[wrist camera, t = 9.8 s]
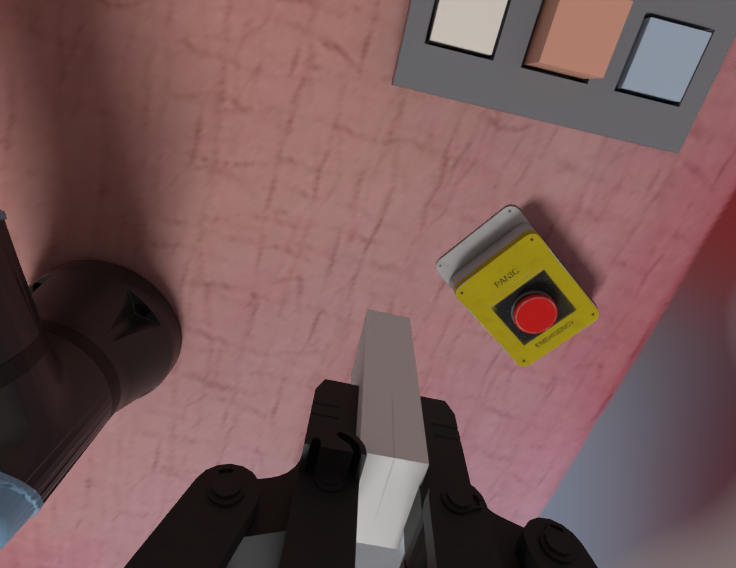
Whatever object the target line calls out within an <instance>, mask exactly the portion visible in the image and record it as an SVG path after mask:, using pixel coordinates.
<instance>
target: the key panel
mask: <svg viewBox="0 0 736 568" xmlns="http://www.w3.org/2000/svg"><path fill="white" fill-rule="evenodd" d="M631 1H633V4H632V6H631V9H630V11H629V14H628V17H627V19H626V22H625V24H624V27H623V29H622V32H621V34H620V37H619V39H618V42H617V45H616V47H615V50H614V52H613V55H612V57H611V60H610V62H609V65H608V67H607V70H606V72H605V75H604V78H594V79H580V78H576V77H572V76H568V75H564V74H560V73H556V72H552V71H548V70H544V69H540V68H536V67H532V66H528V65H524V64H523V63H524V60H525V57H526V54H527V51H528V48H529V45H530V42H531V39H532V36H533V33H534V30H535V26H536V23H537V20H538V17H539V14H540V11H541V8H542V5H543V2H544V0H508V1H507V5H506V8H505V11H504V15H503V18H502V22H501V25H500V28H499V32H498V35H497V38H496V42H495V45H494V48H493V52H492V55H489V56H485V57H482V58H481V57H477V56H473V55H469V54H465V53H461V52H457V51H453V50H449V49H445V48H441V47H437V46H433V45H429V44H425V43H426V39H427V35H428V31H429V26H430V22H431V18H432V14H433V10H434V6H435V2H436V0H410V3H409V8H408V12H407V17H406V21H405V26H404V30H403V35H402V39H401V44H400V48H399V53H398V57H397V62H396V66H395V71H394V76H393V80H392V85H395V86H399V87H403V88H407V89H411V90H416V91H420V92H424V93H428V94H432V95H436V96H440V97H445V98H449V99H453V100H457V101H461V102H465V103H469V104H473V105H478V106H482V107H486V108H490V109H494V110H498V111H502V112H507V113H511V114H515V115H519V116H523V117H527V118H531V119H536V120H540V121H544V122H548V123H552V124H556V125H560V126H564V127H569V128H573V129H577V130H581V131H585V132H589V133H593V134H598V135H602V136H606V137H610V138H614V139H618V140H622V141H626V142H631V143H635V144H639V145H643V146H647V147H652V148H656V149H660V150H665V151H669V152H673V153H679V151H680V149H681V147H682V145H683V143H684V141H685V139H686V137H687V135H688V133H689V131H690V128H691V126H692V124H693V122H694V120H695V118H696V116H697V114H698V112H699V110H700V108H701V106H702V104H703V102H704V100H705V98H706V95H707V93H708V91H709V89H710V87H711V85H712V83H713V81H714V79H715V77H716V75H717V73H718V71H719V69H720V67H721V65H722V62H723V60H724V58H725V56H726V54H727V52H728V50H729V48H730V46H731V44H732V42H733V40H734V38H735V36H736V0H631ZM650 17H652V18H656V19H660V20H664V21H668V22H672V23H675V24H679V25H683V26H687V27H691V28H694V29H698V30H702V31H706V32H710V33H712V35H711V37H710V39H709V41H708V43H707V45H706V47H705V50H704V52H703V54H702V56H701V58H700V60H699V62H698V65H697V67H696V69H695V71H694V73H693V75H692V77H691V80H690V82H689V84H688V86H687V88H686V90H685V93H684V95H683V97H682V99H681V101H680V102H673V101H655V100H649V99H645V98H641V97H637V96H633V95H629V94H625V93H621V92H617V91H614V90H615V87H616V85H617V82H618V80H619V77H620V75H621V73H622V70H623V68H624V65H625V63H626V60H627V58H628V55H629V53H630V50H631V48H632V46H633V43H634V41H635V38H636V36H637V33H638V31H639V28H640V26H641V23H642V21H643V19H646V18H650Z"/></svg>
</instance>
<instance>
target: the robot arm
mask: <svg viewBox="0 0 736 568" xmlns="http://www.w3.org/2000/svg"><path fill="white" fill-rule="evenodd" d="M6 219H7V217H6V214H5V212H4V211H2V210H0V549H2V548H3V547H4V546H5V545H6V544H7V543H8V542H9V540H10V539H11V538H12V537H13V536H14V535H15V534H16V533H17V531H18V530H19V529H20V528H21V527H22V526H23V525H24V524H25V523H26V521H27V520H28V519H29V518H31V517H33V516H34V515H35V514H36V513H38V512H39V511H40V509H41V507H42V506H43V504H44V503H45V501H46V500H47V499H48V497H49V496H50V495H51V494H52V492H53V491H54V490H55V488H56V487H57V486H58V485H59V483H60V482H61V481H62V479H63V478H64V477H65V476H66V474H67V473H68V472H69V470H70V469H71V468H72V467H73V465H74V464H75V463H76V461H77V460H78V459H79V458H80V456H81V455H82V454H83V452H84V451H85V450H86V449H87V447H88V446H89V445H90V443H91V442H92V441H93V440H94V438H95V437H96V436H97V434H98V433H99V432H100V431H101V429H102V428H103V427H104V425H105V424H106V423H107V421H108V420H109V419H110V418H111V417H112V415H113V414H114V413H115V412H117V411H119V410H120V409H122V408H123V407H125V406H127V405H128V404H130V403H131V402H133V401H134V400H136V399H138V398H141V397H142V396H144V395H146V394H148V393H150V392H151V391H153V390H154V389H155V388H156V387H157V386H159V385H160V384H161V383H162V381H163V380H164V379H165V378H166V376H167V375H168V374H169V372H170V371H171V370H172V368H173V367H174V365H175V363H176V361H177V359H178V357H179V353H180V349H181V333H180V328H179V324H178V321H177V318H176V316H175V314H174V312H173V310H172V308H171V306H170V305H169V303H168V302H167V300H166V299H165V298H164V297H163V295H162V294H161V293H160V292H159V291H158V290H157V289H156V288H155V287H154V286H153V285H152V284H150V283H149V282H148V281H147V280H145V279H144V278H142V277H141V276H139V275H138V274H136V273H134V272H132V271H130V270H128V269H126V268H124V267H121V266H118V265H115V264H112V263H108V262H103V261H96V260H80V261H73V262H69V263H65V264H63V265H60V266H58V267H56V268H54V269H53V270H51V271H49V272H47V273H46V274H44V275H42V276H40V277H39V278H37V279H36V280H35V281H34V282H33V283H31V284H30V285H29V286H28V284H27V281H26V279H25V276H24V273H23V271H22V268H21V266H20V263H19V260H18V257H17V254H16V251H15V248H14V246H13V243H12V240H11V237H10V234H9V231H8V229H7V226H6V223H5V220H6ZM457 429H458V427H457V423H456V419H455V414H454V413H453V412H452V410H451V409H450V407H449V406H448V405H447V403H446V402H445V401H442V400H437V399H431V398H426V397H421V396H420V392H419V384H418V377H417V369H416V361H415V354H414V346H413V339H412V331H411V324H410V318H408V317H403V316H398V315H393V314H388V313H383V312H378V311H373V310H369V309H367V312H366V316H365V321H364V325H363V329H362V333H361V337H360V341H359V345H358V349H357V353H356V357H355V362H354V366H353V370H352V374H351V384H348V383H342V382H337V381H332V380H327V379H325V380H324V381H323V382H322V383H321V384H320V385H319V386H318V387H317V388H316V390H315V395H314V399H313V404H312V409H311V414H310V419H309V423H308V428H307V433H306V438H305V443H304V447H303V452H302V456H301V459H300V461H299V462H298V464H297V465H296V466H295V467H294V468H293V469H292V470H290V471H289V472H288V473H285V474H283V475H281V476H277V477H272V478H264V479H257V478H256V476H255V475H254V473H253V472H251V471H250V470H248V469H246V468H245V467H243V466H238V465H234V464H225V465H217V466H215V467H212V468H210V469H207V470H205V471H204V472H203V473H202V474H201V475H200V476H199V477H197V478H196V479H195V481H194V482H193V483H192V484H191V486H190V487H189V488H188V489H187V491H186V492H185V493H184V494H183V495H182V497H181V498H180V499H179V500H178V502H177V503H176V504H175V505H174V507H173V508H172V509H171V510H170V511H169V513H168V514H167V515H166V516H165V518H164V519H163V520H162V521H161V523H160V524H159V525H158V526H157V527H156V529H155V530H154V531H153V532H152V534H151V535H150V536H149V537H148V539H147V540H146V541H145V542H144V543H143V545H142V546H141V547H140V548H139V550H138V551H137V552H136V553H135V555H134V556H133V557H132V558H131V559H130V561H129V562H128V563H127V564H126V566H125V567H124V568H355V559H356V542H358V543H364V544H369V545H375V546H381V547H387V548H393V549H399V546H400V543H401V540H402V538H403V535H404V549H405V554H404V556H403V559H402V562H401V564H400V567H399V568H598V567H597V566H596V564H595V563H594V561H593V560H592V558H591V557H590V555H589V554H588V552H587V551H586V549H585V548H584V546H583V545H582V543H581V542H580V541H579V540H578V539H577V537H576V536H575V535H574V534H573V533H572V532H571V531H569V530H568V529H567V528H565V527H564V526H563V525H561V524H559V523H557V522H555V521H553V520H550V519H545V518H536V519H532V520H530V521H529V522H528V523H527V525H526V526H525V527H524V528H523V527H521V526H519V525H517V524H515V523H513V522H510V521H508V520H506V519H504V518H502V517H500V516H498V515H496V514H495V513H493V512H492V511H490V510H489V509H488V508H487V505H486V503H485V501H484V499H483V496H482V495H481V494H480V493H479V492H478V491H477V490H476V488H475V487H473V486H472V485H471V484H470V480H469V475H468V471H467V467H466V462H465V458H464V453H463V449H462V445H461V442H460V436H459V432H458V431H457Z"/></svg>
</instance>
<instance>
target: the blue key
mask: <svg viewBox="0 0 736 568" xmlns="http://www.w3.org/2000/svg"><path fill="white" fill-rule="evenodd" d="M711 35H712V33H710V32H706V31H702V30H698V29H694V28H691V27H687V26H683V25H679V24H675V23H672V22H668V21H664V20H660V19H656V18H652V17H650V18H646V19H643V21H642V23H641V26H640V28H639V31H638V33H637V36H636V38H635V41H634V43H633V46H632V48H631V50H630V53H629V55H628V58H627V60H626V63H625V65H624V68H623V70H622V73H621V75H620V77H619V80H618V82H617V85H616V87H615V90H614V91H617V92H621V93H625V94H629V95H633V96H637V97H641V98H645V99H649V100H655V101H673V102H680V101H681V99H682V97H683V95H684V93H685V90H686V88H687V86H688V84H689V82H690V80H691V77H692V75H693V73H694V71H695V69H696V67H697V65H698V62H699V60H700V58H701V56H702V54H703V52H704V50H705V47H706V45H707V43H708V41H709V39H710V37H711Z"/></svg>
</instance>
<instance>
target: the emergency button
mask: <svg viewBox="0 0 736 568" xmlns="http://www.w3.org/2000/svg"><path fill="white" fill-rule="evenodd" d="M436 270H437V272H438V274H439V275H440V276H441V277H442V278H443V279H444V281H445V282H446V283H447V284H448V285H449V286H450V287H451V288H452V289H453V291H454V293H455V295H456V297H457V298H458V299H459V300H460V301H461V303H462V304H463V305H464V306H465V307H466V308H467V309H468V310H469V311H470V312H471V313H472V315H473V316H474V317H475V318H476V319H477V320H478V321H479V322H480V323H481V324H482V326H483V327H484V328H485V329H486V330H487V331H488V332H489V333H490V334H491V335H492V337H493V338H494V339H495V340H496V341H497V342H498V343H499V344H500V345H501V346H502V347H503V349H504V350H505V351H506V352H507V353H508V354H509V355H510V356H511V357H512V358H513V360H514V361H515V362H516V363H517V364H518V365H520V366H528V365H530V364H532V363H533V362H535V361H536V360H538V359H539V358H541V357H542V356H544V355H545V354H547V353H549V352H550V351H552V350H553V349H555V348H556V347H558V346H559V345H561V344H562V343H564V342H565V341H567V340H568V339H570V338H571V337H573V336H574V335H576V334H577V333H579V332H580V331H582V330H583V329H585V328H586V327H588V326H589V325H591V324H592V323H594V322H595V321H596V320H597V319H598V317H599V311H598V309H597V308H596V306H595V305H594V303H593V302H592V301H591V300H590V298H589V297H588V296H587V294H586V293H585V292H584V291H583V289H582V288H581V287H580V286H579V284H578V283H577V282H576V281H575V279H574V278H573V277H572V275H571V274H570V273H569V272H568V270H567V269H566V268H565V267H564V265H563V264H562V263H561V262H560V260H559V259H558V258H557V256H556V255H555V254H554V253H553V251H552V250H551V249H550V248H549V246H548V245H547V244H546V243H545V241H544V240H543V239H542V237H541V236H540V235H539V234H538V232H537V231H536V230H535V229H534V227H533V226H532V225H531V224H530V222H529V221H528V220H527V218H526V217H525V216H524V215H523V213H522V212H521V211H520V210H519V209H518V208H516V207H515V206H507V207H505V208H503V209H502V210H501V211H499V212H498V213H497V214H496V215H494V216H493V217H492V218H491V219H489V220H488V221H487V222H485V223H484V224H483V225H482V226H480V227H479V228H478V229H477V230H475V231H474V232H473V233H472V234H470V235H469V236H468V237H467V238H465V239H464V240H463V241H462V242H460V243H459V244H458V245H457V246H455V247H454V248H453V249H451V250H450V251H449V252H448V253H446V254H445V255H444V256H443V257H441V258H440V259H439V260H438V262H437V263H436Z"/></svg>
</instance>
